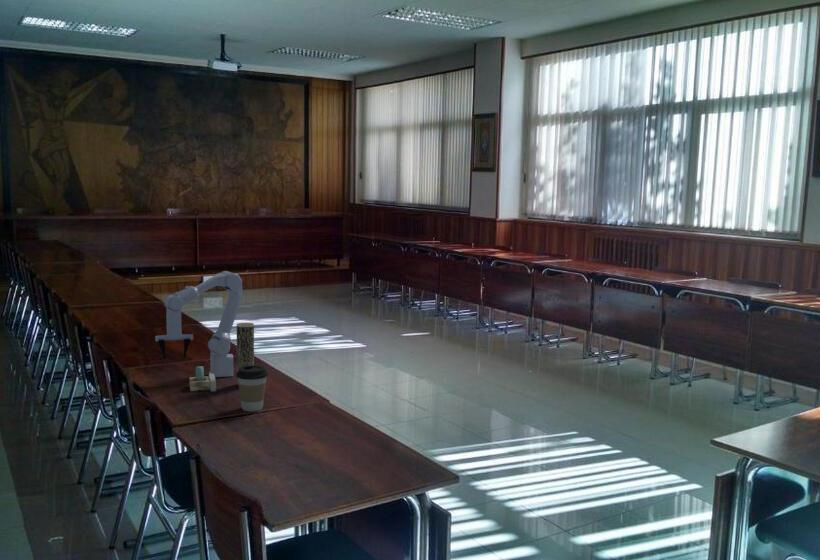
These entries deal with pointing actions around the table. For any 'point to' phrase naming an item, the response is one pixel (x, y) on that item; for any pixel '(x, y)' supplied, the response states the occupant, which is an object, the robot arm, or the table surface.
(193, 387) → the beige hollow square block
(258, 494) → the table surface
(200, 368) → the dowel
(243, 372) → the coffee cup
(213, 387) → the wall
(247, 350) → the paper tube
